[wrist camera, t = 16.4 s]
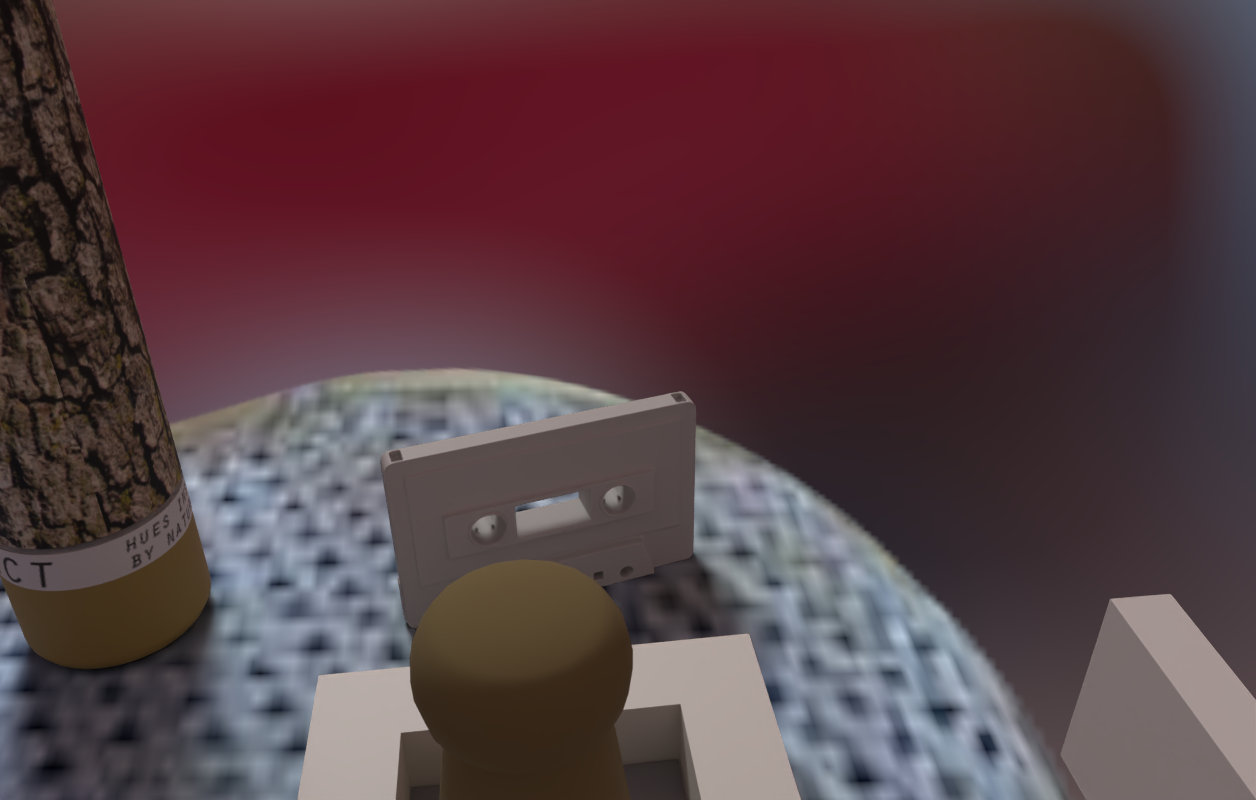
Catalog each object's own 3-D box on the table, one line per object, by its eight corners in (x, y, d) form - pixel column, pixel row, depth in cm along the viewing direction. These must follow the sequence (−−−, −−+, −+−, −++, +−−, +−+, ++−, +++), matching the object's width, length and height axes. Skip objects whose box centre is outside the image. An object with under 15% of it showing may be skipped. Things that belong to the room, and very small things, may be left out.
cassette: (409, 640, 41) (382, 473, 37) (401, 609, 43) (374, 445, 39) (699, 565, 45) (703, 406, 41) (682, 539, 46) (683, 383, 42)
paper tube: (182, 539, 46) (-1, -98, 34) (241, 624, 42) (54, -77, 29) (10, 607, 43) (-268, -77, 30) (53, 708, 38) (-253, -50, 25)
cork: (616, 1041, 27) (605, 733, 21) (396, 977, 28) (330, 674, 23) (675, 839, 32) (679, 545, 26) (485, 794, 33) (450, 506, 28)
